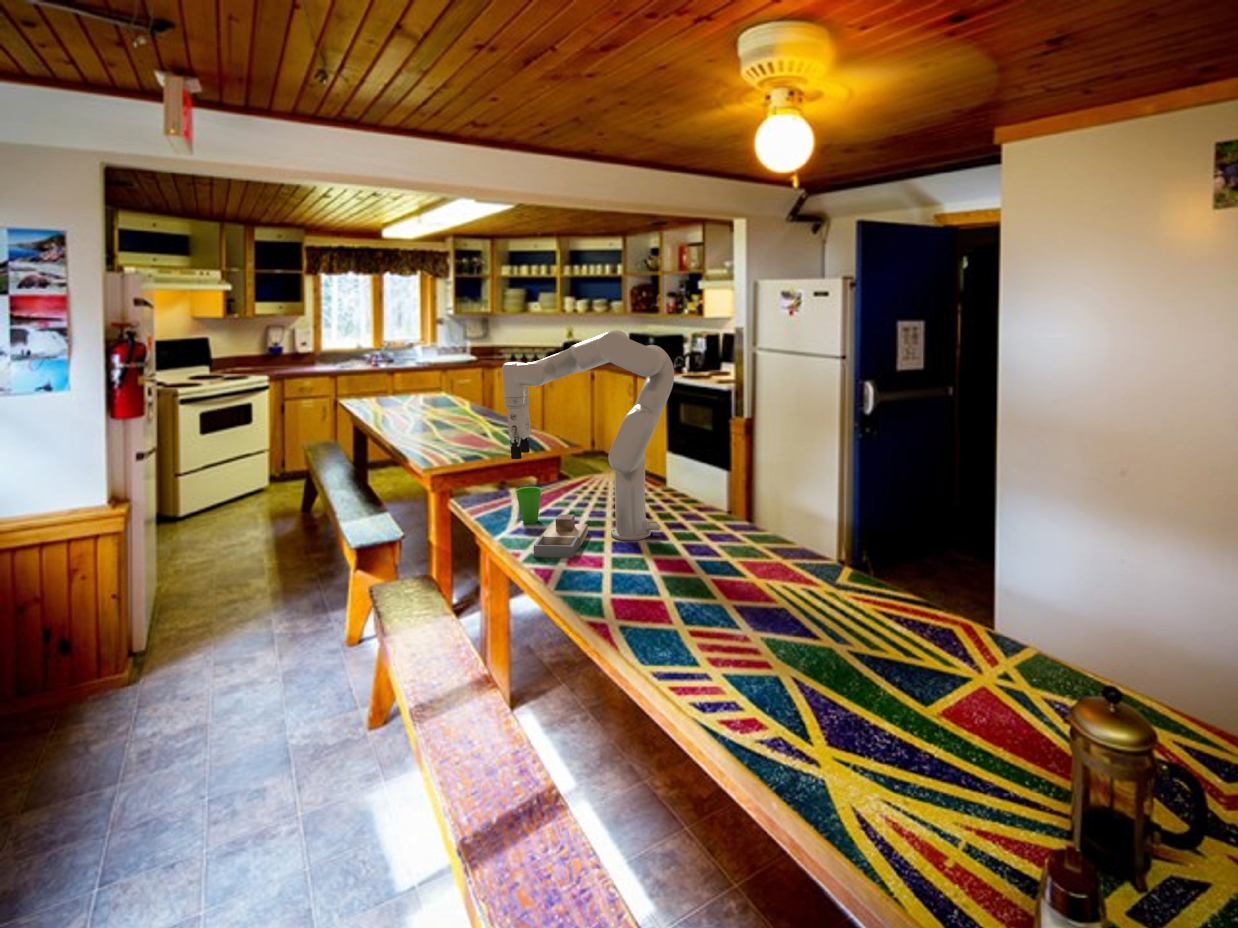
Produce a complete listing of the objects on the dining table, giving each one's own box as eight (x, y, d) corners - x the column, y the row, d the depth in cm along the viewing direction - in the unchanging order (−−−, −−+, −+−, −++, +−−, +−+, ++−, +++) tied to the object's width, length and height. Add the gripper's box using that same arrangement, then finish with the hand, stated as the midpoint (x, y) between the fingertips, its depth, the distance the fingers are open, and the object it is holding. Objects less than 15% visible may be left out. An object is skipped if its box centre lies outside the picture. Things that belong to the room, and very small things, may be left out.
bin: (579, 547, 217) (578, 536, 217) (573, 557, 208) (572, 546, 208) (541, 546, 219) (541, 535, 218) (534, 556, 210) (533, 545, 209)
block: (574, 526, 227) (574, 514, 226) (571, 531, 222) (571, 519, 222) (559, 526, 228) (558, 514, 227) (556, 531, 223) (555, 519, 222)
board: (587, 533, 230) (587, 524, 229) (580, 546, 218) (579, 537, 217) (551, 532, 232) (550, 523, 231) (541, 545, 219) (540, 536, 219)
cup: (532, 526, 238) (530, 494, 236) (511, 523, 243) (509, 491, 240) (548, 519, 246) (547, 488, 243) (528, 516, 250) (526, 485, 248)
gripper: (521, 405, 215) (525, 461, 219) (535, 398, 232) (538, 449, 236) (497, 406, 216) (501, 461, 220) (512, 398, 233) (516, 450, 237)
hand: (520, 455), depth 228 cm, fingers open, 9 cm apart
